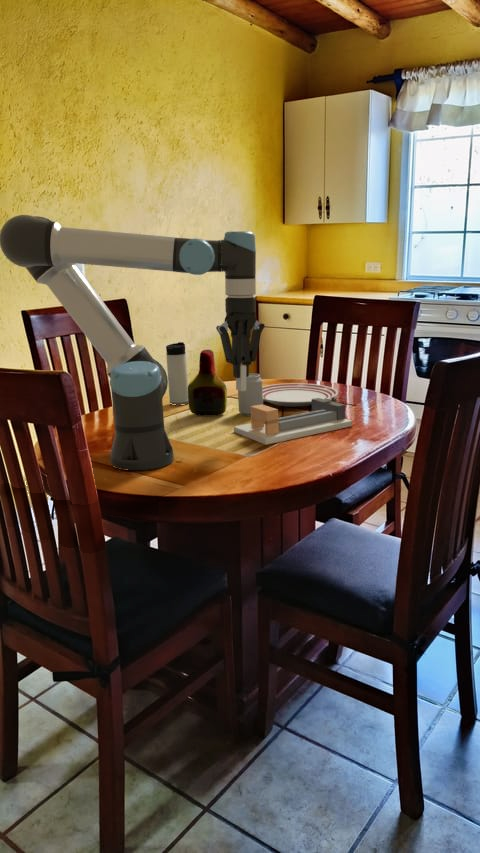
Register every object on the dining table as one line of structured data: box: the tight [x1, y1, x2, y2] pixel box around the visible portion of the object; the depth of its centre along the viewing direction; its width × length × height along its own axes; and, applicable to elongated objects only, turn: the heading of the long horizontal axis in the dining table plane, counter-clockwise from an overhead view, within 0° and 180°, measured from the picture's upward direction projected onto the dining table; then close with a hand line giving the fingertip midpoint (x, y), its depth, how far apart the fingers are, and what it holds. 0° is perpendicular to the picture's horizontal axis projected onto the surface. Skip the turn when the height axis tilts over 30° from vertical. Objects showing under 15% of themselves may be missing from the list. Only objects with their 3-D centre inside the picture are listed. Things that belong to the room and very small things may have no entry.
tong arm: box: [278, 409, 327, 421], centre depth 183 cm, size 17×2×2 cm, turn 121°
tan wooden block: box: [250, 404, 279, 435], centre depth 176 cm, size 4×8×6 cm, turn 31°
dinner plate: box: [262, 382, 339, 408], centre depth 219 cm, size 28×27×3 cm
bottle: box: [188, 349, 228, 417], centre depth 201 cm, size 12×6×20 cm, turn 77°
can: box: [237, 373, 264, 417], centre depth 202 cm, size 8×8×12 cm
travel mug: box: [165, 341, 189, 405], centre depth 218 cm, size 6×7×20 cm
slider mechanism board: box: [233, 398, 353, 445], centre depth 183 cm, size 28×16×6 cm, turn 121°
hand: (241, 389), depth 171 cm, fingers closed
